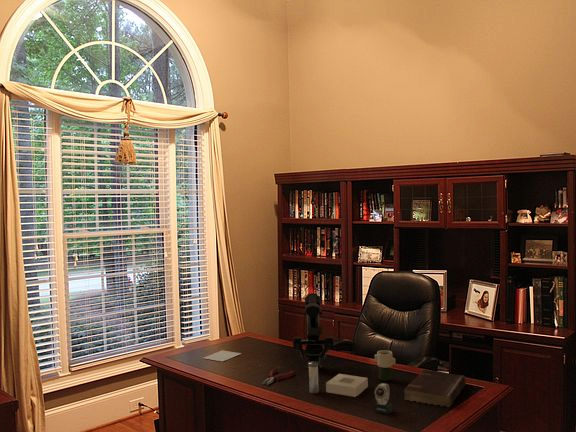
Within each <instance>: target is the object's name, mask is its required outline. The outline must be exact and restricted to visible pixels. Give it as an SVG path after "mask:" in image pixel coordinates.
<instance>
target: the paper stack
mask: <svg viewBox="0 0 576 432" xmlns="http://www.w3.org/2000/svg"><path fill="white" fill-rule="evenodd" d="M239 355H242V353H241V352H235V351H234V352H233V351H228V350H223V349H221V350H220V351H217V352H215V353H214V352H213V353H212V354H210V355H207V356H205V357H203V359H207V360H212V361H217V362H225V361H227V360H231V359H232V358H234V357H236V356H239Z"/></svg>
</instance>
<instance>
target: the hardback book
mask: <svg viewBox="0 0 576 432" xmlns="http://www.w3.org/2000/svg"><path fill="white" fill-rule="evenodd" d="M466 381H467V380H466V376H465V375H462V374H455V373H450V372H449V373H448V372H441V371H435V370H429V369H423V370H421V372H420V373H419V374H418V375H417V376H416V377H414V379H413V380H412V381H411V382H410V383H409V384H408V385H407V386H406V387H404V389H403V392H404V393H403V395H404V397H403V398H404V401H407V400H409V402H413V401H416V402H415V403H419V402H421V403H420V404H425V403H427V404H426V405H431V404H433V406H437V405H440V406H439V407H443V406H446V407H445V408H449V407H450V408H451V406H452V405H453V404H454V403H455V401H456V399H457V398H458V396H459V395H460V393H461V392H462V391H461V390H463V389H464V388H465V386H466ZM456 397H457V398H456ZM454 400H455V401H454Z"/></svg>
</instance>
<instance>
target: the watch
mask: <svg viewBox="0 0 576 432" xmlns="http://www.w3.org/2000/svg"><path fill="white" fill-rule="evenodd" d="M390 392H391V391H390V386H389V384H388V383H383V382H382V383H381V382H380V384H378V385H377V386H375V389H374V396H375V400H376V403H375V404H374V413H376V412H378V413H377V414H381V413H383V414H382V415H386V414H389V413H390V414H391V413H392V412H393V403H392V402H389V399H390V394H391V393H390ZM390 414H389V415H390Z"/></svg>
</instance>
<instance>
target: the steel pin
mask: <svg viewBox="0 0 576 432" xmlns="http://www.w3.org/2000/svg"><path fill="white" fill-rule="evenodd" d="M318 365H319V364H318V362H317V361H310V362H309V361H308V362H307V367H308V366H309V369H308V383H309V384H308V385H309V387H308V388H309V389H308V390H309V393H310V394H318V393H319V370H318Z"/></svg>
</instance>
